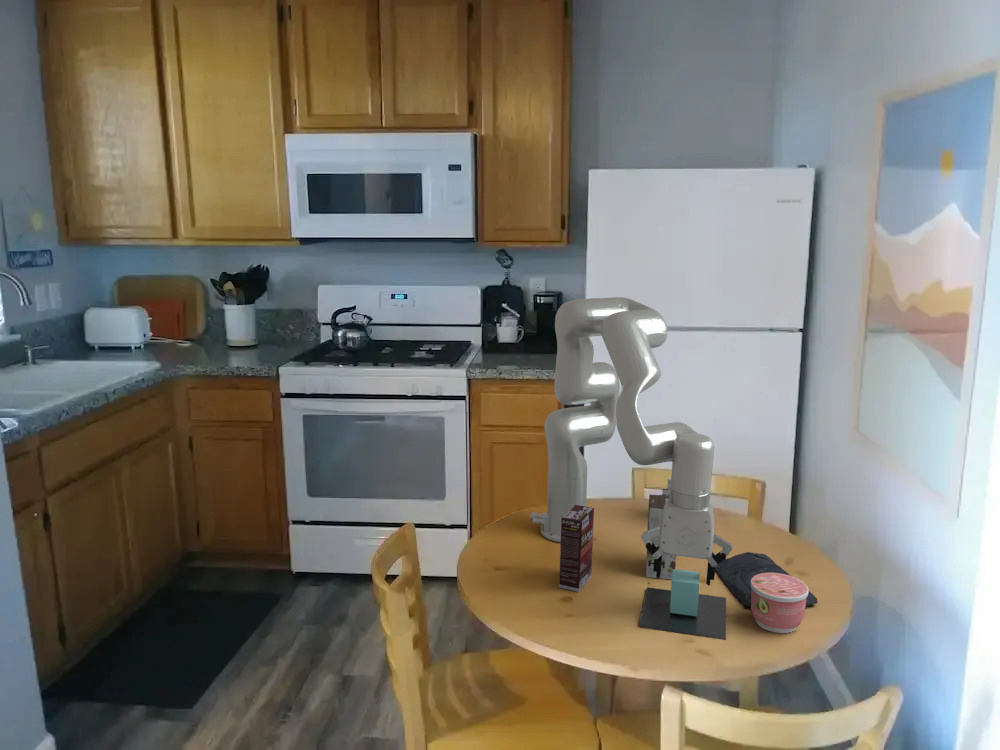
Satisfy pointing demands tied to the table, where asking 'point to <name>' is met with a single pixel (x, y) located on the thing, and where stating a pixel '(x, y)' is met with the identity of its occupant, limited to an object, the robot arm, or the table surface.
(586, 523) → the supplement box
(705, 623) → the brushed steel sheet
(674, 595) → the teal rectangular block
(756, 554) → the dark fabric pouch
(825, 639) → the table surface
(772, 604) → the container
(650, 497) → the coffee box
